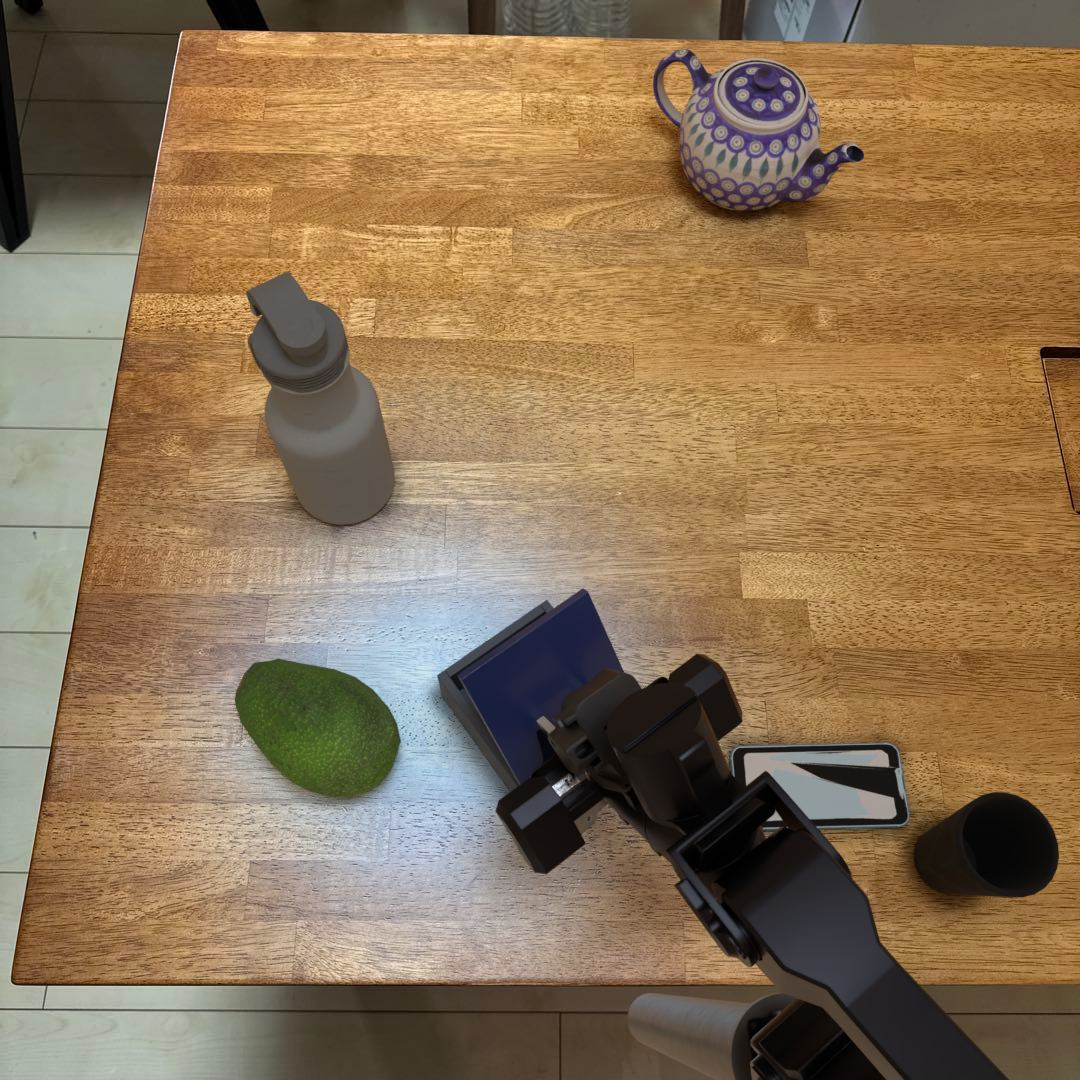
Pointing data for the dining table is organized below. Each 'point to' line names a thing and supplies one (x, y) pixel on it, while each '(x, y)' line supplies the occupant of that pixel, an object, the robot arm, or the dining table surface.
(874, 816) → the smartphone
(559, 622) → the lid
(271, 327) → the water bottle
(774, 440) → the dining table surface
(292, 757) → the fruit
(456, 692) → the box
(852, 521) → the dining table surface
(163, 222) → the dining table surface
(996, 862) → the cup
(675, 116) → the teapot
